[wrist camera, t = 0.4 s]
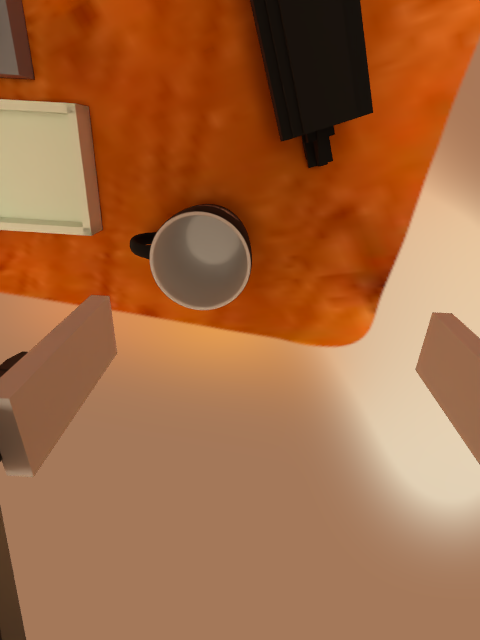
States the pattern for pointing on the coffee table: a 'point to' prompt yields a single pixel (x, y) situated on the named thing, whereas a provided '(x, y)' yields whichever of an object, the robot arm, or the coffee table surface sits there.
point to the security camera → (314, 68)
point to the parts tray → (47, 168)
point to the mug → (198, 256)
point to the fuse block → (14, 42)
